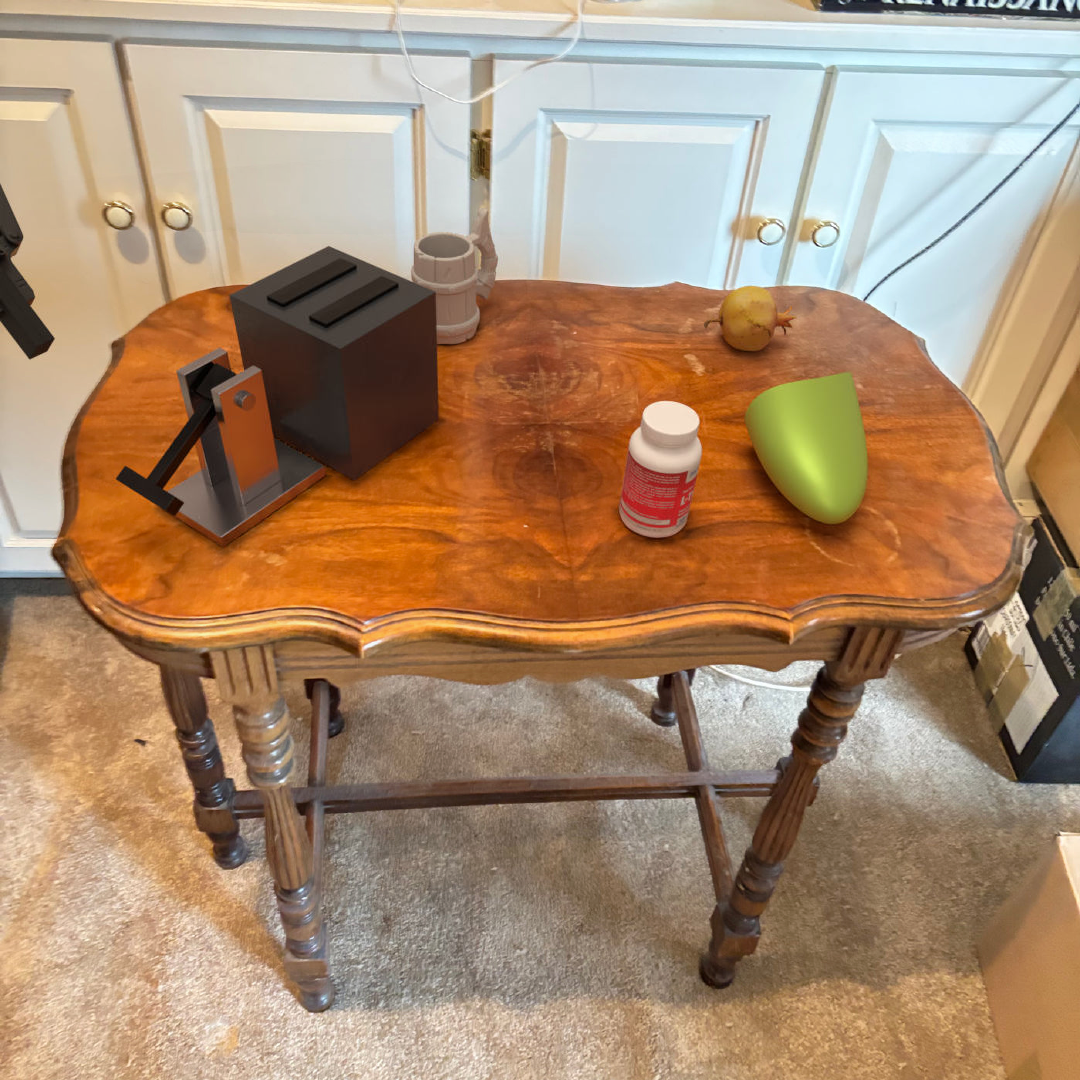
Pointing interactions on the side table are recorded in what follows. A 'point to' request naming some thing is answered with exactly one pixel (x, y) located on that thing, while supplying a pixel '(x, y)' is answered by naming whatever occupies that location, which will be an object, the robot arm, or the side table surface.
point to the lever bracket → (237, 456)
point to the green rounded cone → (813, 444)
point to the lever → (177, 448)
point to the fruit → (750, 318)
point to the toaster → (342, 357)
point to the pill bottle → (661, 470)
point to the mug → (456, 277)
